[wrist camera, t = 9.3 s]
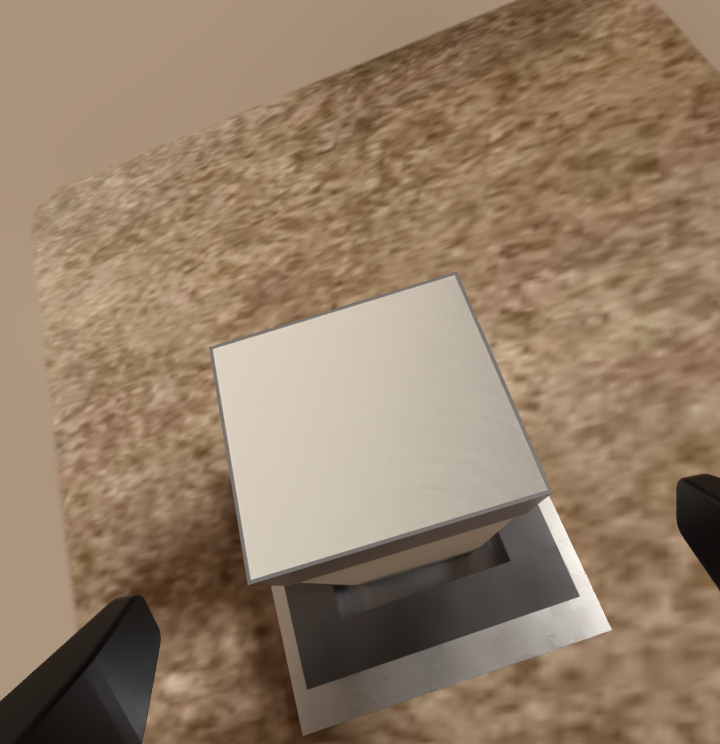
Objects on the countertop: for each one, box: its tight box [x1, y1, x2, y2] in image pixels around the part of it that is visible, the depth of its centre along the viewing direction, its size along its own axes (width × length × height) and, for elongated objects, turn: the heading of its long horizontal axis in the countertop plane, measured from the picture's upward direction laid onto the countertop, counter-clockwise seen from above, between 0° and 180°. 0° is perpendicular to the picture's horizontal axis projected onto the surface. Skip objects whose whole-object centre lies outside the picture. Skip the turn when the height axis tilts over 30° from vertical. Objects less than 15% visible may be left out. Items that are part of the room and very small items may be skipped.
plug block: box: [209, 272, 553, 586], centre depth 13 cm, size 4×4×13 cm
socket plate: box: [271, 496, 612, 736], centre depth 18 cm, size 11×11×4 cm
